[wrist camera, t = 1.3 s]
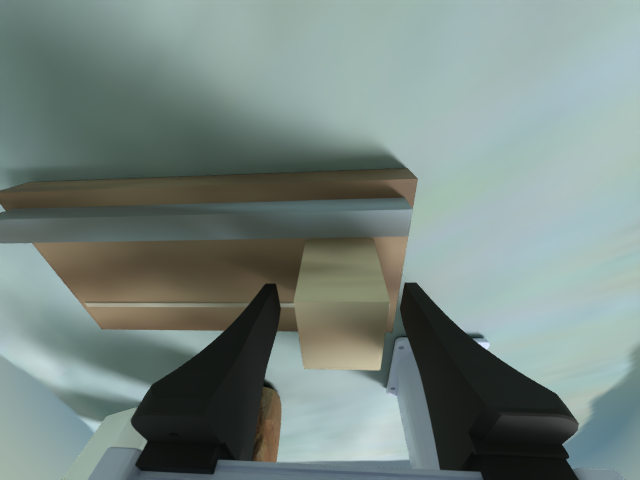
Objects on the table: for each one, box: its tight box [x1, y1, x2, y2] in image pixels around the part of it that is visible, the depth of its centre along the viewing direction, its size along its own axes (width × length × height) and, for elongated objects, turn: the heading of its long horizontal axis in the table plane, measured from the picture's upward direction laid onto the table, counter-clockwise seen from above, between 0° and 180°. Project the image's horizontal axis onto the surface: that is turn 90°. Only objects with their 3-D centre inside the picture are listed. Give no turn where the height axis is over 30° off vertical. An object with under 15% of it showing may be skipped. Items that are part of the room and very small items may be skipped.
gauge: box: [294, 238, 390, 370], centre depth 14 cm, size 9×4×5 cm, turn 3°
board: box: [0, 168, 418, 332], centre depth 16 cm, size 12×24×4 cm, turn 93°
